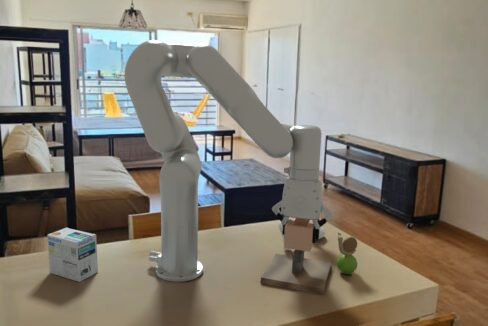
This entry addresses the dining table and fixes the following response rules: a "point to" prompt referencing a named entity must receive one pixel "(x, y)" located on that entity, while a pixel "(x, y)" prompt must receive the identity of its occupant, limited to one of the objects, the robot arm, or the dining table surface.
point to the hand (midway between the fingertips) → (300, 239)
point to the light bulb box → (72, 254)
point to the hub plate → (292, 279)
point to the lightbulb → (282, 234)
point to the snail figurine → (347, 255)
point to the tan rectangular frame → (299, 234)
